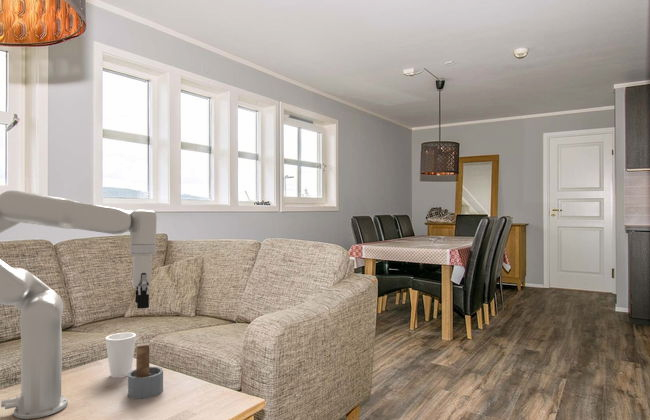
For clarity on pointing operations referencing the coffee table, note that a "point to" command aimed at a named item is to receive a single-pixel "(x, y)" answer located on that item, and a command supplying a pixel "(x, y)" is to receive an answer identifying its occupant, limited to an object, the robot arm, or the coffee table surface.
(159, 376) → the faceted hollow tube
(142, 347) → the brown wooden bar
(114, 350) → the foam cup
